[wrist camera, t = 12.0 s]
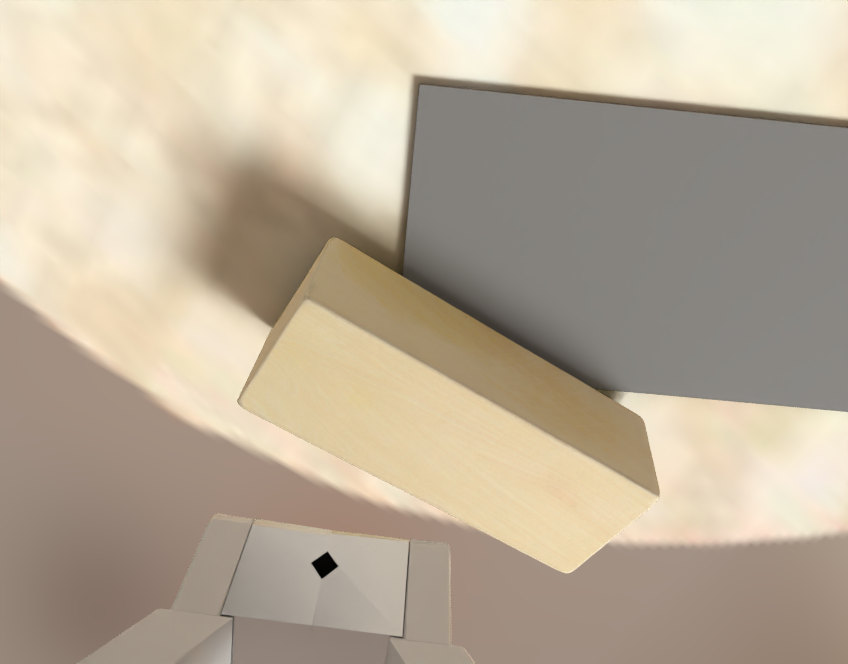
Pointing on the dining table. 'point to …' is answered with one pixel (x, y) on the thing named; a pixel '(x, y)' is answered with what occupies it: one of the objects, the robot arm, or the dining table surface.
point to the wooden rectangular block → (451, 411)
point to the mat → (639, 241)
